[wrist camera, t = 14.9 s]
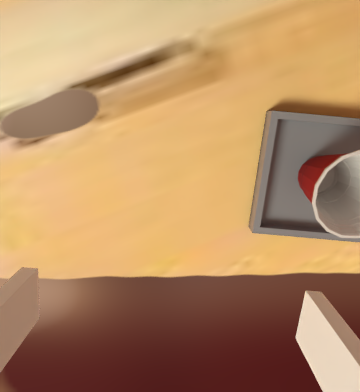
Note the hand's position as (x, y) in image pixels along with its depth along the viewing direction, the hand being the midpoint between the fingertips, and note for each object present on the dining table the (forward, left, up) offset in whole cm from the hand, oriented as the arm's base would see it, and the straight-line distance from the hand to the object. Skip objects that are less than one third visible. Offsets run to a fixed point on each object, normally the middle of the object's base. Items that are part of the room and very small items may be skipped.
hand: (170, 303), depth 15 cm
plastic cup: (-2, +21, -32) cm, 38 cm away
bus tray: (-2, +21, -33) cm, 39 cm away
